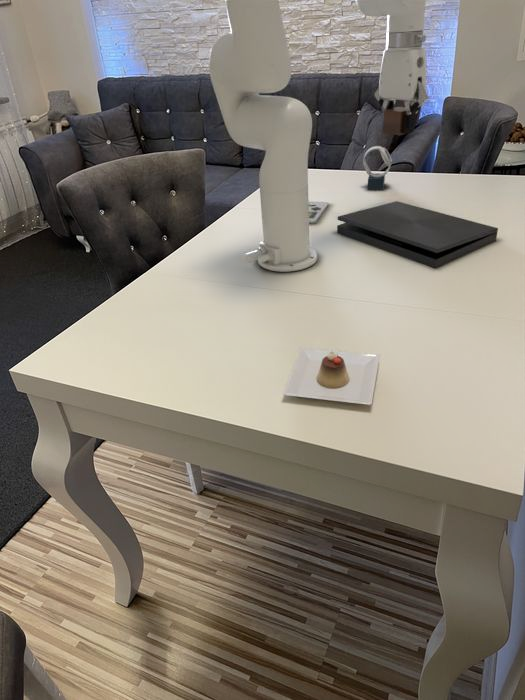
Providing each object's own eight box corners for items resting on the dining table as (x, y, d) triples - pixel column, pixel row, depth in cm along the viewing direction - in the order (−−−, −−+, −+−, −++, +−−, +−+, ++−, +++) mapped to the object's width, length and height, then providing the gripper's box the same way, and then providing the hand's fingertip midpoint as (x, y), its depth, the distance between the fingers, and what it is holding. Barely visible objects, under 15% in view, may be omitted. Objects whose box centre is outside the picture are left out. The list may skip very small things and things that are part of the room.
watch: (390, 190, 149) (392, 149, 143) (361, 190, 151) (362, 149, 145) (391, 184, 153) (393, 144, 147) (363, 184, 155) (364, 144, 149)
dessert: (371, 411, 70) (372, 381, 67) (282, 400, 73) (280, 372, 71) (379, 360, 80) (381, 333, 77) (300, 353, 83) (299, 326, 80)
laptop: (435, 268, 105) (436, 259, 104) (337, 232, 124) (337, 225, 123) (496, 240, 114) (497, 231, 113) (395, 211, 134) (396, 204, 133)
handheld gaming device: (329, 201, 142) (315, 220, 130) (329, 204, 142) (315, 223, 130) (297, 200, 144) (280, 219, 133) (297, 203, 145) (280, 222, 133)
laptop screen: (436, 253, 103) (437, 249, 103) (337, 220, 123) (337, 216, 122) (497, 232, 113) (498, 228, 113) (396, 204, 133) (396, 200, 132)
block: (399, 135, 122) (400, 111, 119) (382, 133, 125) (383, 109, 123) (413, 131, 124) (415, 108, 121) (396, 129, 128) (398, 106, 125)
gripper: (448, 39, 111) (438, 132, 120) (385, 40, 123) (381, 125, 132) (425, 43, 107) (416, 138, 117) (362, 43, 119) (360, 130, 129)
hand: (398, 130), depth 124 cm, fingers closed on block, 5 cm apart
